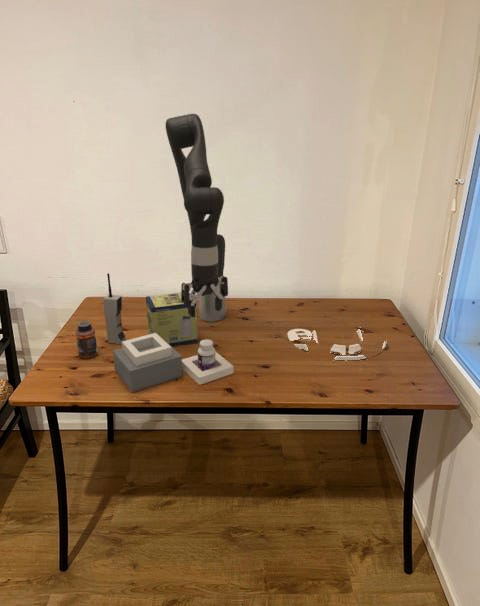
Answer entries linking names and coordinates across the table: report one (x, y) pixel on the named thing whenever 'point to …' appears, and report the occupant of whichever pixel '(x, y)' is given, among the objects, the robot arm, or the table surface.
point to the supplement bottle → (86, 340)
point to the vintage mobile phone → (113, 317)
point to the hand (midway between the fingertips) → (205, 313)
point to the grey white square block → (147, 362)
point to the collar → (209, 375)
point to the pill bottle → (206, 355)
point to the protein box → (171, 319)
